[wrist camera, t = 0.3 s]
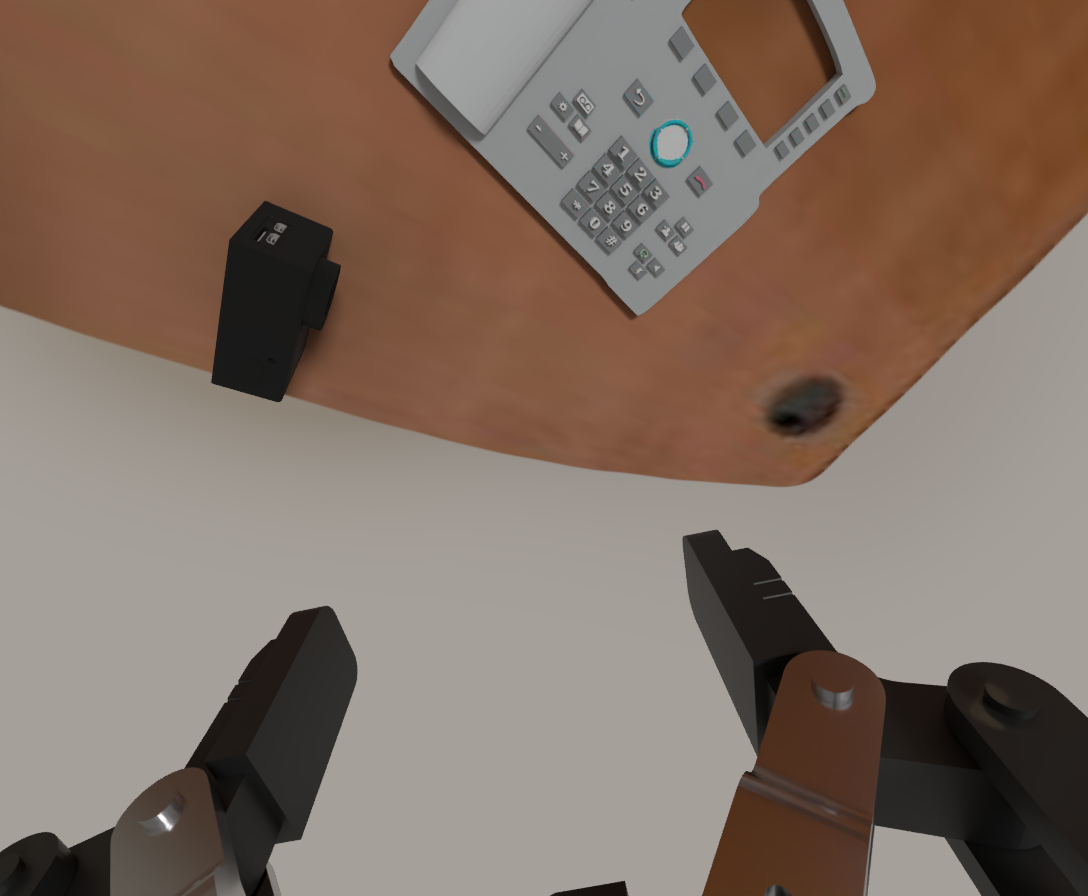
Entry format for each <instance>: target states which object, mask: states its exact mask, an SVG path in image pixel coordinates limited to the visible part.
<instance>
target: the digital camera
mask: <svg viewBox="0 0 1088 896" xmlns="http://www.w3.org/2000/svg"><path fill="white" fill-rule="evenodd" d="M332 234H333V230H332V229H331V228H328V227H326V226H324V225H321V224H319V223H317V222H314V221H312V220H309V219H307V218H305V217H302V216H300V215H298V214H295V213H293V212H290V211H288V210H286V209H283V208H281V207H279V206H276V205H274V204H272V203H269V202H267V201H264V202H263V204H262V205H261V206H260V207H259V208H258V209H257V210H256V211H255V212H254V213H253V214H252V216H251V217H250V218H249V219H248V220H247V221H246V222H245V223H244V224H243V225H242V226H241V228H240V229H239V230H238V231H237V232H236V233H235V234H234V235H233V236H232V238H231V239H230V240H229V248H228V255H227V263H226V270H225V278H224V286H223V294H222V302H221V309H220V317H219V325H218V333H217V341H216V349H215V357H214V365H213V373H212V381H211V382H212V383H213V384H216V385H220V386H223V387H226V388H230V389H233V390H237V391H240V392H244V393H247V394H251V395H255V396H258V397H261V398H265V399H268V400H272V401H275V402H280V401H281V400H282V399H283V396H284V394H285V392H286V389H287V387H288V385H289V383H290V380H291V378H292V376H293V373H294V371H295V369H296V367H297V364H298V362H299V360H300V357H301V355H302V353H303V351H304V347H305V343H306V339H307V335H308V331H309V327H311V328H314V329H317V330H319V331H321V330H322V328H323V326H324V323H325V320H326V318H327V315H328V312H329V309H330V305H331V302H332V299H333V296H334V292H335V289H336V285H337V282H338V277H339V273H340V268H341V265H339V264H336V263H334V262H331V261H329V260H326V259H327V255H328V251H329V247H330V242H331V238H332Z"/></svg>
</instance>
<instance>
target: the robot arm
mask: <svg viewBox="0 0 1088 896" xmlns="http://www.w3.org/2000/svg"><path fill="white" fill-rule="evenodd" d="M683 552H684V560H685V568H686V578H687V587H688V594H689V599H690V603H691V607H692V610H693V614H694V617H695V619H696V622H697V624H698V626H699V628H700V630H701V632H702V635H703V637H704V639H705V642H706V644H707V646H708V648H709V650H710V653H711V655H712V657H713V659H714V661H715V664H716V666H717V668H718V670H719V673H720V675H721V677H722V679H723V681H724V684H725V686H726V688H727V690H728V692H729V695H730V697H731V699H732V701H733V704H734V706H735V708H736V710H737V713H738V715H739V717H740V719H741V721H742V723H743V726H744V728H745V730H746V733H747V735H748V737H749V739H750V741H751V744H752V746H753V748H754V750H755V753H756V754H757V760H756V764H755V766H754V769H753V771H752V772H748V771H746V772H745V773H744V774H743V775H742V777H741V779H740V782H739V784H738V787H737V789H736V793H735V796H734V799H733V802H732V805H731V808H730V811H729V814H728V817H727V820H726V823H725V827H724V830H723V833H722V836H721V839H720V842H719V845H718V848H717V851H716V854H715V857H714V861H713V864H712V867H711V870H710V873H709V876H708V879H707V882H706V885H705V889H704V892H703V895H702V896H867V894H868V885H869V875H870V866H871V856H872V848H873V838H874V828H875V825H876V826H882V827H888V828H893V829H899V830H905V831H911V832H916V833H923V834H928V835H934V836H940V837H945V839H946V840H947V842H948V844H949V845H950V847H951V848H952V850H953V851H954V853H955V855H956V856H957V858H958V859H959V861H960V862H961V864H962V866H963V867H964V869H965V870H966V872H967V873H968V875H969V877H970V878H971V879H972V881H973V883H974V885H975V886H976V888H977V889H978V891H979V892H980V894H981V896H1088V717H1086V716H1085V715H1084V714H1083V713H1082V712H1081V711H1080V710H1079V709H1078V708H1077V707H1076V706H1075V705H1073V703H1071V702H1070V701H1069V700H1068V699H1067V698H1066V697H1065V696H1064V695H1063V694H1061V693H1060V692H1059V691H1058V690H1057V689H1056V688H1054V687H1053V686H1051V685H1050V684H1048V683H1047V682H1045V681H1043V680H1042V679H1040V678H1038V677H1036V676H1034V675H1032V674H1030V673H1028V672H1025V671H1023V670H1020V669H1017V668H1014V667H1011V666H1007V665H1003V664H996V663H988V662H978V663H977V662H976V663H970V664H965V665H963V666H960V667H959V668H957V669H955V670H954V671H953V672H952V673H951V675H950V677H949V679H948V684H947V686H938V685H926V684H915V683H903V682H896V681H890V680H886V679H882V678H879V677H877V676H876V675H875V674H874V673H873V672H872V671H871V670H870V669H869V668H868V667H867V666H865V665H864V664H862V663H861V662H859V661H857V660H856V659H854V658H851V657H849V656H847V655H844V654H841V653H838V652H837V651H836V650H835V648H834V647H833V646H832V644H831V643H830V642H829V640H828V639H827V638H826V637H825V635H824V634H823V632H822V631H821V630H820V628H819V627H818V626H817V624H816V623H815V622H814V620H813V619H812V618H811V616H810V615H809V614H808V612H807V611H806V610H805V608H804V607H803V606H802V604H801V603H800V602H799V600H798V599H797V598H796V596H795V595H793V594H792V591H791V590H790V588H789V587H788V586H787V585H786V583H785V582H784V581H782V579H781V576H780V575H779V574H778V572H777V571H776V570H775V568H774V567H773V566H772V564H771V563H770V562H769V560H767V559H766V558H764V557H762V556H761V555H759V554H757V553H756V552H754V551H752V550H751V549H749V548H744V549H738V550H733V551H732V550H731V549H730V547H729V545H728V544H727V542H726V541H725V539H724V538H723V536H722V535H721V533H720V532H719V531H718V530H712V531H707V532H702V533H697V534H692V535H687V536H684V537H683ZM356 681H357V662H356V658H355V655H354V652H353V650H352V648H351V646H350V644H349V642H348V640H347V638H346V635H345V634H344V631H343V629H342V627H341V625H340V623H339V621H338V618H337V616H336V614H335V612H334V611H333V609H332V608H330V607H329V606H323V607H318V608H313V609H308V610H303V611H298V612H294V613H292V614H291V615H290V616H289V618H288V619H287V621H286V623H285V624H284V626H283V628H282V629H281V631H280V633H279V635H278V636H277V638H276V639H274V640H271V641H270V642H269V643H268V644H267V645H266V646H265V647H264V648H263V649H262V650H261V651H260V652H259V653H258V654H257V655H256V656H255V657H254V658H253V659H251V661H250V663H249V664H248V666H247V667H246V669H245V671H244V672H243V674H242V675H241V677H240V679H239V681H238V682H239V684H238V685H235V687H234V689H233V690H232V692H231V693H230V695H229V697H228V702H227V703H224V705H223V706H222V708H221V710H220V711H219V713H218V715H217V716H216V718H215V719H214V721H213V723H212V724H211V726H210V728H209V729H208V731H207V733H206V734H205V736H204V737H203V739H202V741H201V742H200V744H199V746H198V747H197V749H196V750H195V752H194V754H193V756H192V757H191V758H190V760H189V762H188V763H187V765H186V767H185V768H184V769H181V770H178V771H175V772H173V773H171V774H169V775H167V776H165V777H163V778H162V779H160V780H158V781H157V782H155V783H154V784H153V785H151V786H150V787H148V789H146V790H145V791H144V792H142V793H141V794H140V795H139V796H138V797H137V798H136V799H135V800H134V801H133V802H132V803H131V804H130V806H129V807H128V808H127V809H126V811H125V812H124V813H123V814H122V816H121V817H120V819H119V821H118V822H117V824H116V826H115V827H113V828H111V829H109V830H107V831H105V832H103V833H100V834H98V835H96V836H94V837H92V838H90V839H88V840H85V841H83V842H81V843H79V844H77V845H75V846H73V847H70V848H67V847H66V846H65V845H64V844H63V843H62V841H60V839H59V838H58V837H57V836H56V835H55V834H53V833H50V832H42V833H37V834H34V835H31V836H28V837H26V838H24V839H21V840H19V841H18V842H16V843H14V844H12V845H10V846H9V847H7V848H6V849H4V850H3V851H1V852H0V896H281V893H280V889H279V886H278V883H277V879H276V875H275V872H274V870H273V867H272V866H271V864H270V863H269V862H268V860H269V857H270V855H271V852H272V850H273V847H274V845H275V844H278V843H283V842H289V841H295V840H300V839H301V838H302V835H303V832H304V829H305V827H306V824H307V821H308V818H309V815H310V812H311V809H312V807H313V804H314V801H315V798H316V795H317V793H318V790H319V787H320V784H321V781H322V778H323V776H324V773H325V770H326V767H327V764H328V762H329V759H330V756H331V753H332V750H333V747H334V745H335V742H336V739H337V736H338V733H339V730H340V728H341V725H342V722H343V719H344V716H345V713H346V711H347V708H348V705H349V702H350V699H351V696H352V693H353V691H354V688H355V685H356ZM551 896H628V892H627V888H626V883H625V881H621V882H615V883H610V884H604V885H599V886H592V887H587V888H581V889H576V890H570V891H563V892H558V893H554V894H552V895H551Z"/></svg>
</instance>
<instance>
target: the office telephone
mask: <svg viewBox="0 0 1088 896" xmlns="http://www.w3.org/2000/svg"><path fill="white" fill-rule="evenodd" d="M690 1H691V0H429V1H428V3H427V4H426V6H425V7H424V9H423V10H422V12H421V13H420V15H419V16H418V18H417V19H416V20H415V22H414V23H413V25H412V26H411V28H410V29H409V31H408V32H407V33H406V35H405V36H404V37H403V39H402V40H401V42H400V43H399V44H398V46H397V47H396V48H395V50H394V51H393V52H392V54H391V55H390V58H391V60H392V62H393V63H394V66H395V67H396V68H397V69H398V70H399V71H400V72H401V73H402V75H403V76H404V77H405V78H406V79H407V80H408V81H409V82H410V83H411V84H412V85H413V86H414V87H415V88H416V89H417V90H418V91H419V92H420V93H421V94H422V95H423V96H424V97H425V98H426V99H427V100H428V101H429V102H430V103H431V104H432V105H433V106H434V107H435V108H436V109H437V111H438V112H439V113H440V114H441V115H442V116H443V117H444V118H445V119H446V120H447V121H448V122H449V123H450V124H451V125H452V126H453V127H454V128H455V129H456V130H457V131H458V132H459V133H460V134H461V135H462V136H463V137H464V138H465V139H466V140H467V141H468V142H469V143H470V144H471V145H472V146H473V147H474V148H475V149H476V150H477V151H478V152H479V153H480V154H481V155H482V156H483V157H484V158H485V159H486V160H487V161H488V162H489V163H490V164H491V165H492V166H493V167H494V168H495V169H496V170H497V171H498V172H499V173H500V174H501V175H502V176H503V177H504V178H505V179H506V180H507V181H508V182H509V183H510V184H511V185H512V186H513V187H514V188H515V189H516V190H517V191H518V192H519V193H520V194H521V195H522V196H523V197H524V198H525V199H526V200H527V201H528V202H529V203H530V204H531V205H532V206H533V207H534V208H535V209H536V210H537V211H538V212H539V213H540V214H541V215H542V217H543V218H544V219H545V220H546V221H547V222H548V223H549V224H550V225H551V226H552V227H553V228H554V229H555V230H556V231H557V232H558V233H559V234H560V235H561V236H562V237H563V238H564V239H565V240H566V241H567V242H568V243H569V244H570V245H571V246H572V247H573V248H574V249H575V250H576V251H577V252H578V253H579V254H580V255H581V256H582V257H583V258H584V259H585V260H586V261H587V262H588V263H589V264H590V265H591V266H592V267H593V268H594V269H595V270H596V271H597V272H598V273H599V274H600V275H601V276H602V277H603V279H604V280H605V281H606V282H607V284H608V286H609V287H610V288H611V289H612V290H613V291H614V292H615V293H616V294H617V295H618V296H619V297H620V298H621V300H622V301H623V302H624V303H625V304H626V305H627V306H628V307H629V308H630V309H631V310H632V311H633V312H634V313H635V314H636V315H637V316H639V315H641V314H643V313H644V312H646V311H647V310H648V309H649V308H651V307H652V306H653V305H654V304H655V303H656V302H657V301H659V300H660V299H661V298H662V297H663V296H664V295H665V294H666V293H667V292H669V291H670V290H671V289H672V288H673V287H674V286H675V285H676V284H677V283H679V282H680V281H681V280H682V279H683V278H684V277H685V276H686V275H687V274H689V273H690V272H691V271H692V270H693V269H694V268H695V267H696V266H697V265H699V264H700V263H701V262H702V261H703V260H704V259H705V258H706V257H707V256H708V255H710V254H711V253H712V252H713V251H714V250H715V249H716V248H717V247H718V246H720V245H721V244H722V243H723V242H724V241H725V240H726V239H727V238H728V237H730V236H731V235H732V234H733V233H734V232H735V231H736V230H737V229H738V228H740V227H741V226H742V225H743V224H744V223H745V222H746V221H747V220H748V219H749V218H750V216H751V215H752V214H753V213H754V212H755V211H756V210H757V208H758V206H759V196H760V194H761V193H762V192H763V191H764V190H765V189H766V188H767V187H768V186H769V185H770V184H771V183H772V182H773V181H774V180H775V179H776V178H777V177H778V176H780V175H781V174H782V173H783V172H784V171H785V170H786V169H787V168H788V167H789V166H790V165H791V164H792V163H793V162H795V161H796V160H797V159H798V158H799V157H800V156H801V155H802V154H803V153H804V152H805V151H806V150H807V149H809V148H810V147H811V146H812V145H813V144H814V143H815V142H816V141H817V140H819V139H820V138H821V137H822V136H823V135H824V134H825V133H826V132H827V131H828V130H830V129H831V128H832V127H833V126H834V125H835V124H836V123H837V122H838V121H840V120H841V119H842V118H843V117H844V116H845V115H846V114H847V113H849V112H850V111H851V110H852V109H854V108H855V107H856V106H858V105H860V104H863V103H865V102H867V101H868V100H869V99H870V98H871V97H872V95H873V94H874V92H875V89H876V84H875V79H874V76H873V73H872V71H871V68H870V65H869V63H868V60H867V58H866V55H865V53H864V50H863V48H862V46H861V43H860V41H859V38H858V36H857V33H856V31H855V28H854V26H853V23H852V21H851V18H850V16H849V14H848V11H847V9H846V6H845V4H844V1H843V0H807V2H808V4H809V6H810V8H811V10H812V12H813V14H814V17H815V19H816V21H817V23H818V25H819V27H820V29H821V32H822V34H823V36H824V38H825V41H826V43H827V45H828V48H829V50H830V53H831V55H832V58H833V61H834V64H835V68H836V74H835V75H834V76H833V77H832V78H831V79H830V80H829V81H828V82H827V83H826V84H825V85H824V87H823V88H822V89H821V90H820V91H819V92H818V93H816V94H815V95H814V96H813V97H812V98H811V99H810V100H809V101H808V102H807V103H806V104H805V105H804V106H803V107H802V108H801V109H800V110H799V111H798V112H797V113H796V114H795V115H794V116H793V117H792V118H791V119H790V120H789V121H788V122H787V123H786V124H785V125H784V126H783V127H782V128H781V129H780V130H778V131H777V132H776V133H775V134H774V135H773V136H772V137H771V138H770V139H769V140H768V141H767V142H766V143H764V144H763V143H762V142H761V141H760V139H759V138H758V136H757V135H756V133H755V132H754V130H753V129H752V127H751V126H750V124H749V123H748V121H747V119H746V118H745V116H744V115H743V113H742V112H741V110H740V109H739V107H738V106H737V104H736V102H735V101H734V99H733V98H732V96H731V95H730V93H729V92H728V90H727V89H726V87H725V85H724V84H723V82H722V81H721V79H720V77H719V76H718V74H717V73H716V71H715V70H714V68H713V66H712V65H711V63H710V62H709V60H708V58H707V57H706V55H705V54H704V52H703V51H702V49H701V47H700V46H699V44H698V43H697V41H696V39H695V38H694V36H693V34H692V33H691V31H690V29H689V27H688V26H687V24H686V22H685V21H684V19H683V17H682V12H683V10H684V8H685V7H686V6H687V4H688V3H689V2H690ZM653 152H654V154H653ZM654 155H655V156H654ZM655 157H656V158H655Z"/></svg>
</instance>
